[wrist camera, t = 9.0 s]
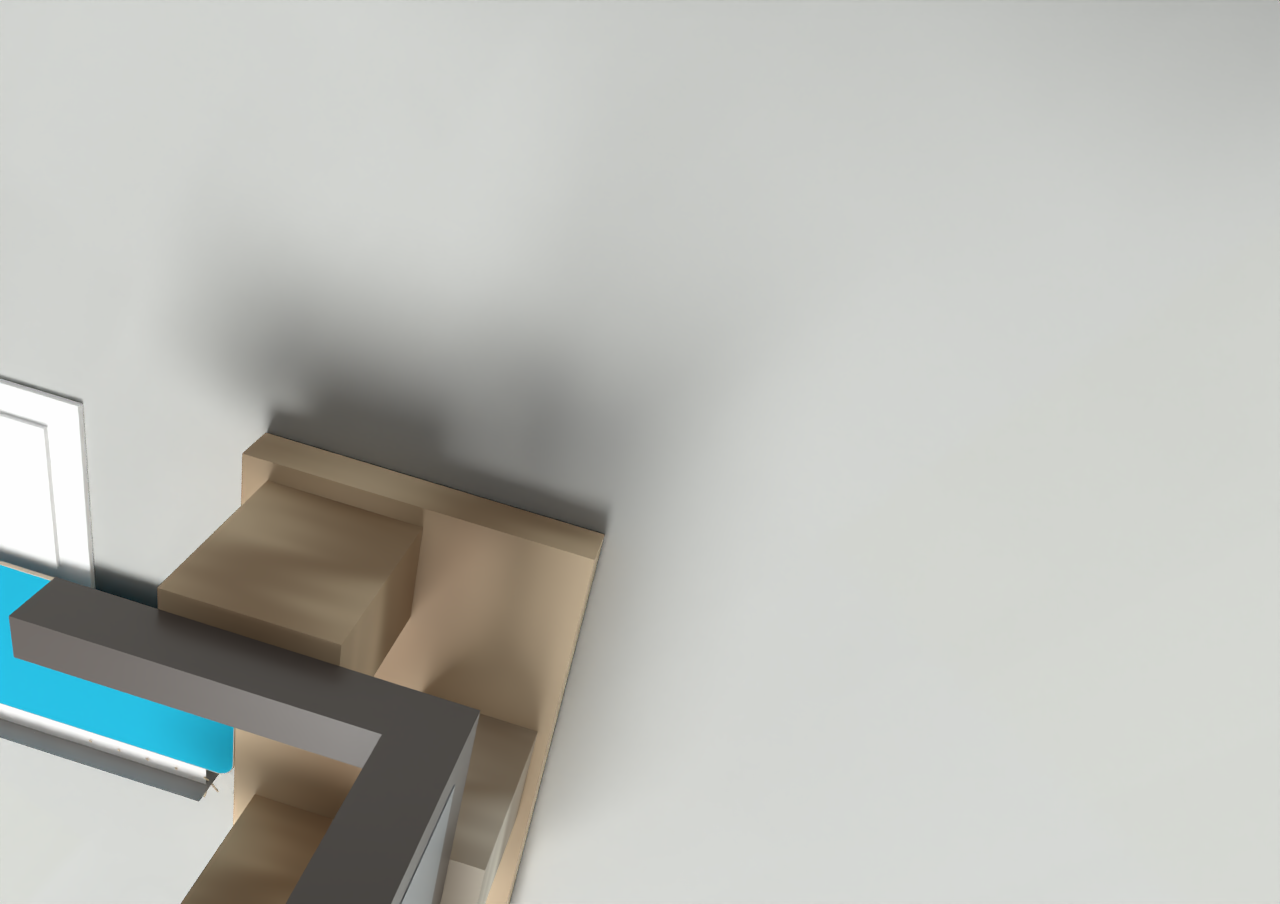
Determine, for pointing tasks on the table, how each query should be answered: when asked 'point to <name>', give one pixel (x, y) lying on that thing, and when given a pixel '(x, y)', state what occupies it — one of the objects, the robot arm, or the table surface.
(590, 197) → the table surface
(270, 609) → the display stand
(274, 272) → the table surface
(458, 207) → the table surface
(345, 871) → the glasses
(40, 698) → the blue flat piece
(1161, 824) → the table surface
